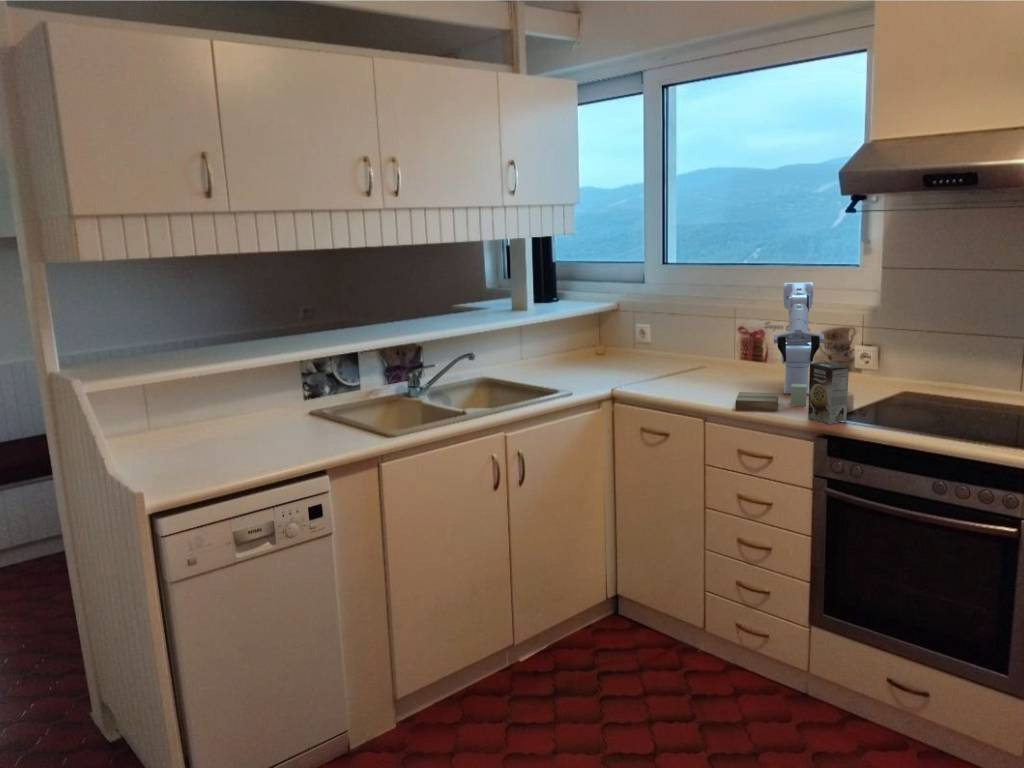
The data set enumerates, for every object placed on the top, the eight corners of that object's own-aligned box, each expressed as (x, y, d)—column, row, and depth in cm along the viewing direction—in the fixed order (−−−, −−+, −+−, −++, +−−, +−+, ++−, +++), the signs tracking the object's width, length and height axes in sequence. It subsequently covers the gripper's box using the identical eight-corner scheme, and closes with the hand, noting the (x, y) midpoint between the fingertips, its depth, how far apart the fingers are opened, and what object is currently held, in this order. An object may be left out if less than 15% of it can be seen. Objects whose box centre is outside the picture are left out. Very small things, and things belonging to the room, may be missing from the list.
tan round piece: (835, 408, 247) (835, 392, 246) (852, 408, 245) (853, 392, 244) (835, 412, 242) (836, 395, 241) (853, 412, 241) (854, 396, 240)
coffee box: (806, 418, 237) (808, 363, 233) (824, 415, 239) (826, 361, 236) (829, 424, 228) (831, 368, 225) (847, 422, 230) (849, 365, 227)
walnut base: (738, 401, 261) (739, 392, 260) (778, 402, 257) (778, 393, 256) (735, 409, 250) (735, 400, 249) (776, 411, 246) (776, 401, 245)
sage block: (791, 402, 257) (791, 383, 255) (806, 403, 255) (806, 384, 254) (790, 405, 252) (791, 386, 251) (806, 406, 251) (806, 387, 250)
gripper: (774, 317, 256) (772, 351, 248) (823, 316, 251) (823, 351, 243) (774, 332, 261) (773, 365, 253) (823, 331, 256) (823, 365, 249)
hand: (798, 359), depth 249 cm, fingers open, 7 cm apart
